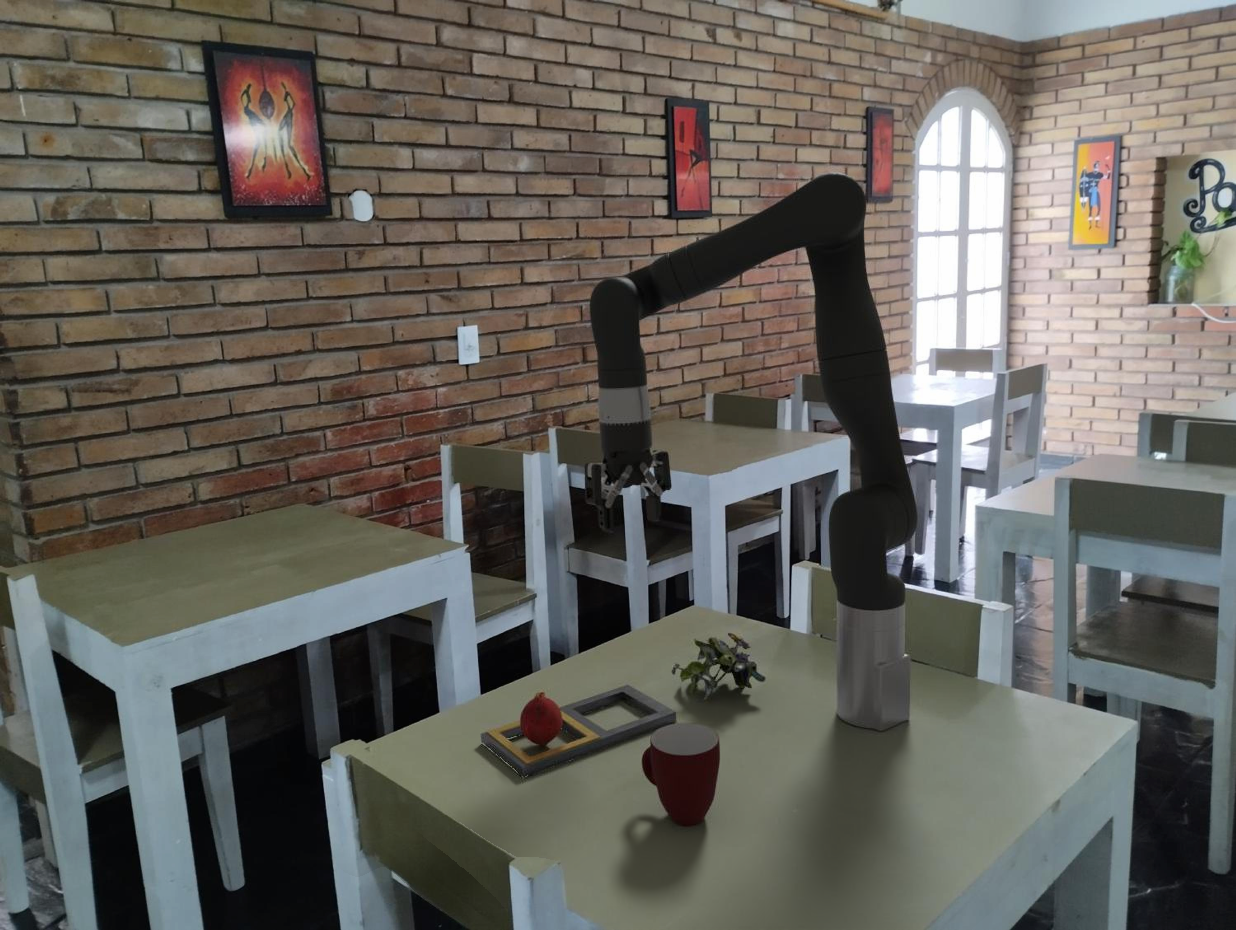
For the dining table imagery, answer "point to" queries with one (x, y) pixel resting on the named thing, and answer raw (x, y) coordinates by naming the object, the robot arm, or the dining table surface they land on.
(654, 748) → the mug
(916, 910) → the dining table surface
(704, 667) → the passion flower
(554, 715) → the onion
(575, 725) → the grey yellow flat frame
